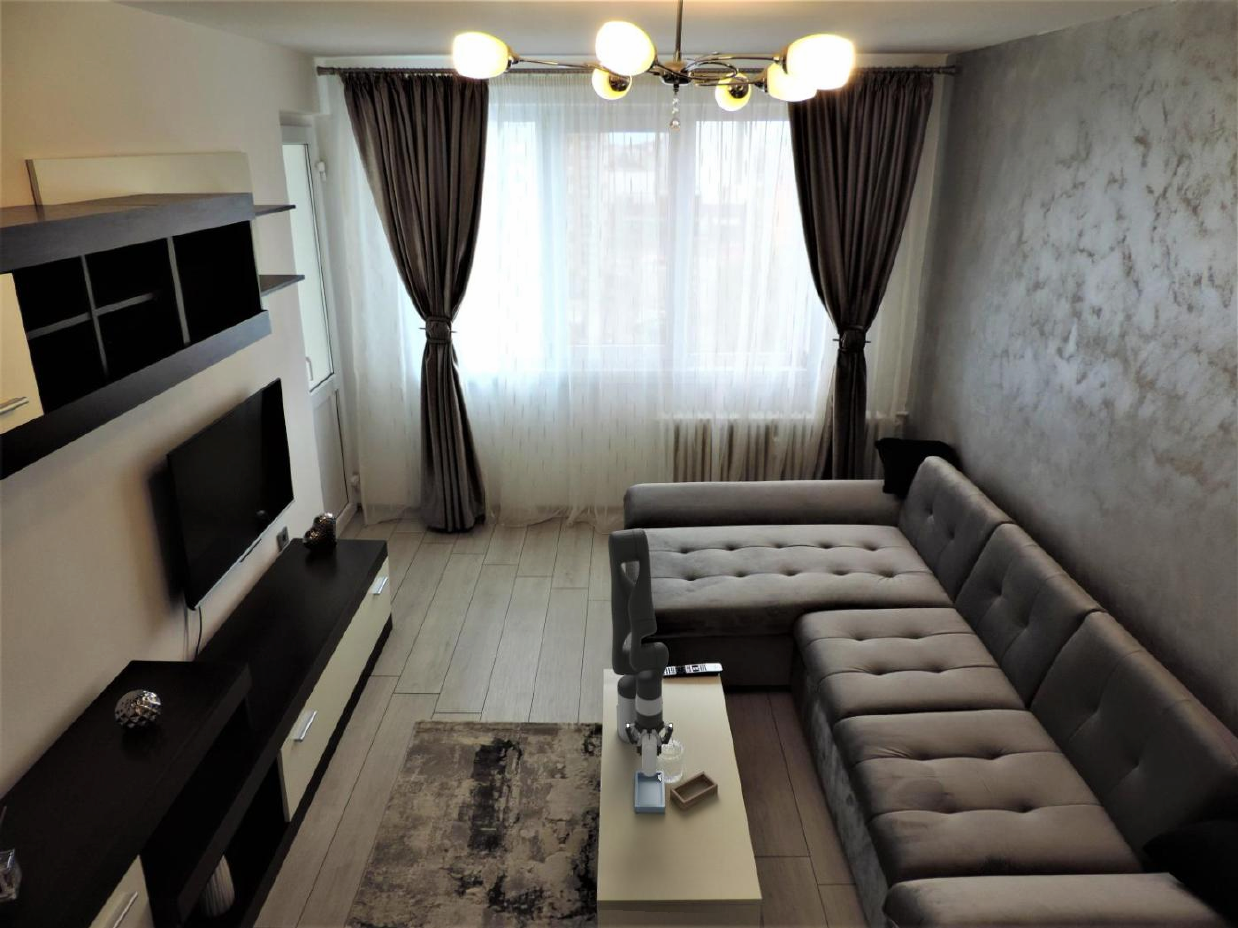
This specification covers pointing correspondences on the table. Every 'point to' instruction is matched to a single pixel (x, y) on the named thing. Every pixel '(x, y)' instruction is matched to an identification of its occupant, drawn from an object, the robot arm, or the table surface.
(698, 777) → the brown wooden tray
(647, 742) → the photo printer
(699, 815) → the table surface
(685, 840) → the table surface
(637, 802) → the slate tray
